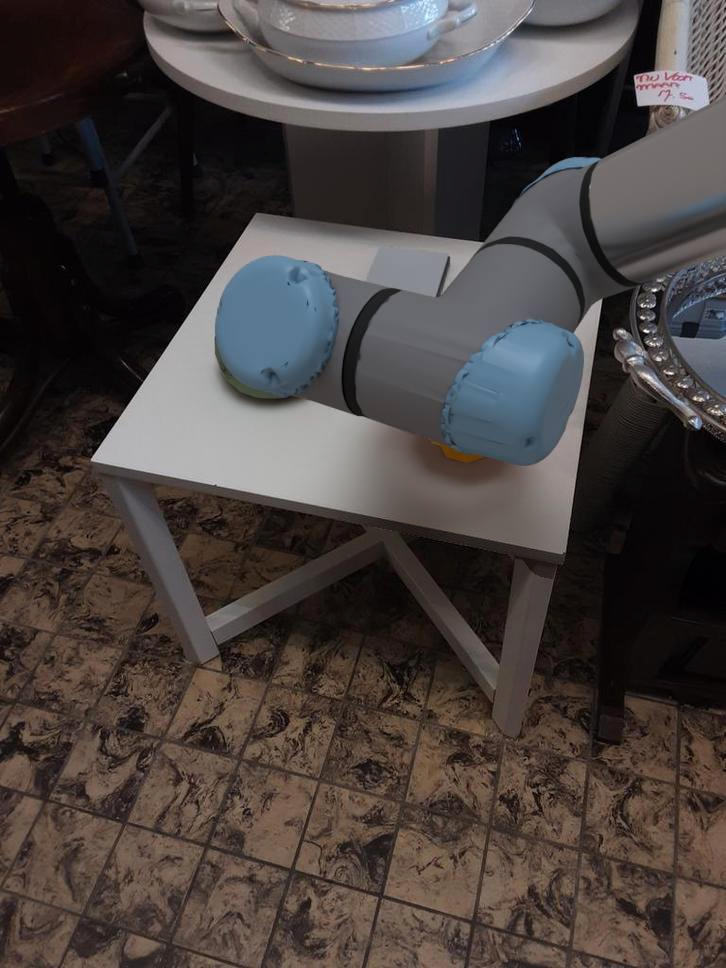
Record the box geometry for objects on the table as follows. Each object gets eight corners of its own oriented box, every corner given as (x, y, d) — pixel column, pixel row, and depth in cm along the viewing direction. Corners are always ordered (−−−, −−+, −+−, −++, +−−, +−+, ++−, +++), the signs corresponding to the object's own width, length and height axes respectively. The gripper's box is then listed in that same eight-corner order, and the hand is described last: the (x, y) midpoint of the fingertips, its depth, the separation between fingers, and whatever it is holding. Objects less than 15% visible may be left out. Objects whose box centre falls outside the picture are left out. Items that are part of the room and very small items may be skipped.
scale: (449, 263, 95) (450, 252, 94) (435, 310, 90) (436, 300, 89) (379, 255, 97) (378, 244, 96) (361, 300, 92) (360, 290, 91)
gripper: (249, 340, 60) (377, 369, 80) (497, 475, 51) (573, 470, 71) (285, 248, 59) (407, 301, 78) (549, 371, 49) (612, 396, 69)
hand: (486, 382), depth 75 cm, fingers closed on potion bottle, 10 cm apart
